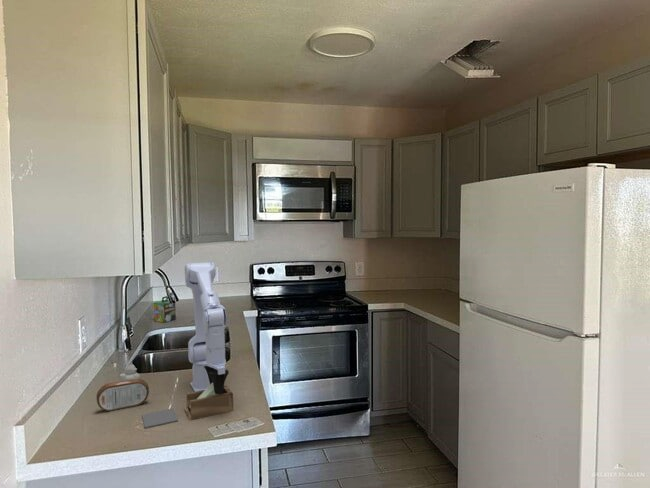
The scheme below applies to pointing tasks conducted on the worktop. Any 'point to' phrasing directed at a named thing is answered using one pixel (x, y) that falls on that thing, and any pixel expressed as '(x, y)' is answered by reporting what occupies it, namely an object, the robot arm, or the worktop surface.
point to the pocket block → (208, 404)
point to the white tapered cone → (130, 373)
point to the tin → (122, 394)
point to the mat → (159, 418)
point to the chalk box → (164, 311)
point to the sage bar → (208, 392)
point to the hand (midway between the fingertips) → (216, 389)
